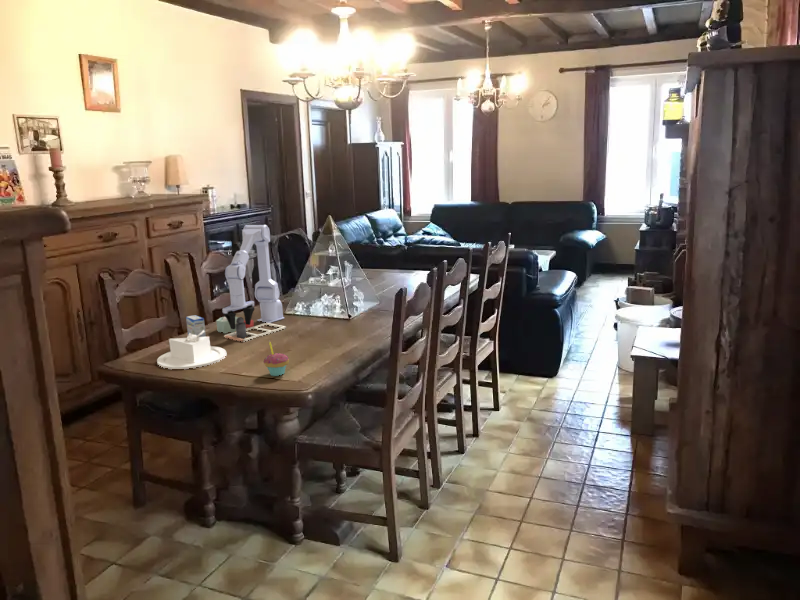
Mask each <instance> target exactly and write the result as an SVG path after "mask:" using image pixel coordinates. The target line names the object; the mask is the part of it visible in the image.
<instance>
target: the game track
mask: <svg viewBox="0 0 800 600" xmlns="http://www.w3.org/2000/svg"><path fill="white" fill-rule="evenodd" d="M264 325H266V326H267V325H269V326H268V327H272V326H274V327H273V328H274V329H272V330H271V329H266V328H262V327H261V326H263V327H265V326H264ZM258 327H260V328H258ZM277 327H279V328H277ZM275 328H276V329H275ZM251 329H253V330H254V329H257V330H256V331H258V330H262V331H261V332H262V333H258V334H257V333H253V332H249V331H248V330H250V331H252V330H251ZM282 329H284V330H286V329H287V326H286V325H282V324H280V325H279V324H276V323H272V322H271V323H265V322H262V323H260V324H258V325H254V326H253V327H250V328H247V329H246V331H247V332H246V334H247V336H248V335H251V336H248V337H247V338H244V339H241V338H237V335H236V332H231V333H226V334H223V337H225V338H224V339H228V338H229V339H228V340H232V339H233V340H232V341H236V340H237V341H236V342H240V341H241V343H246V342H249V341H251V340H250V339H252V340H254V339H253V338H256V337H259V336H262V337H264V336H263V335H265V336H267V335H266V334H268V335H271V334H274V333H277V332H276V331H278V332H280V331H279V330H281V331H283V330H282ZM263 331H266V332H263ZM273 332H274V333H273ZM270 333H271V334H270ZM235 335H236V336H235ZM259 338H260V337H259ZM256 339H257V338H256ZM248 340H249V341H248ZM245 341H246V342H245Z"/></svg>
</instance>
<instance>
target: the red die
mask: <svg viewBox="0 0 800 600" xmlns="http://www.w3.org/2000/svg"><path fill="white" fill-rule="evenodd" d="M244 322H245V320H244ZM254 323H255V322H254V319H251V323H250V325H248V324H246V322H245V324H246V328H250V327H253V326H255V324H254Z"/></svg>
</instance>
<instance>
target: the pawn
mask: <svg viewBox="0 0 800 600" xmlns="http://www.w3.org/2000/svg"><path fill="white" fill-rule="evenodd" d="M237 317H238V318H237V320H236V322H237V323H236V324H235V325H236V337H237V338H244V339H246V338H245V337H247V336H248V335H247V334H246V324H245V322H244V321H245V318H244V317H242V316H237ZM247 338H248V337H247Z"/></svg>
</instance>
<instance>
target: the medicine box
mask: <svg viewBox="0 0 800 600" xmlns="http://www.w3.org/2000/svg"><path fill="white" fill-rule="evenodd" d="M185 319H186V329H187V335H188V334H189V333H191V334H193V335H198V334H199V333H201V332H202V331H203V330H204V331H205V332H204V333H203V334H201V335H200V336H199V337H207V336H206V335H207V333H206V326H205V318H204V317H201V316H198V315H195V314H194V315H188V316H186V317H185Z"/></svg>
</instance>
